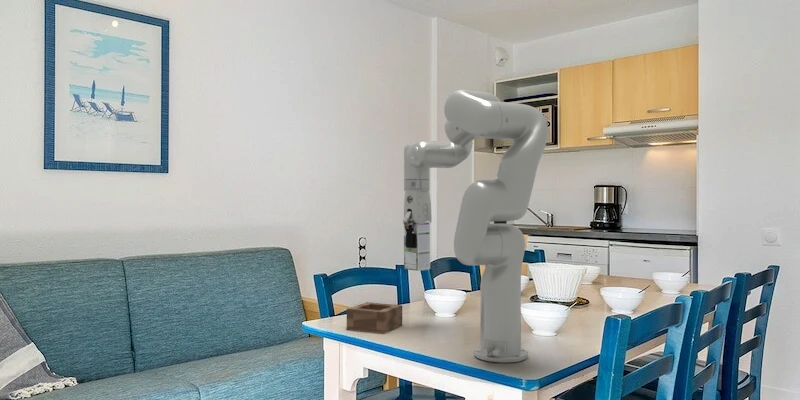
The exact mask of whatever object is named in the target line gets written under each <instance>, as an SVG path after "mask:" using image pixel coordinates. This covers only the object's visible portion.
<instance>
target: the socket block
mask: <svg viewBox="0 0 800 400" xmlns="http://www.w3.org/2000/svg"><path fill="white" fill-rule="evenodd" d="M402 326H403V305H401V304H393V303H381V302H380V303H378V302H368V301H366V302H363V303H361V304H357V305H354V306H351V307H348V308H346V330H347V331H354V332H356V331H357V332H366V333H371V334H383V335H385V334H386V333H389V332H391V331H393V330H395V328H396V329H398V328H400V327H402Z"/></svg>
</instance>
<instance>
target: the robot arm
mask: <svg viewBox="0 0 800 400" xmlns="http://www.w3.org/2000/svg"><path fill="white" fill-rule="evenodd" d="M446 98H447V99H446V101H445V102H444V106H443V107H444V109H443V111H444V113H443V114H444V116H445V118H446V121H445V124H444V132H445V135H446V137H447V138H448V140H449V141H440V140H438V141H436V140H420V141H416V142H415V143H409V144H406V145H405V146H404V148H403V189H404V190H403V191H404V200H403V220H402V224H403V229H404V228H405V233H406V247H407V248H416V247H417V234H415V232H416V223H417V224H418V225H423V224H425V222H426V220H428V221H430V224H431V223H432V203H431V193H430V191H431V190H430V186H431V185H430V184H431V183H430V181H431V180H430V171H431V169H433V168H435V169H437V168H438V169H451V168H452V169H453V168H454V167H457V166H458V165H460V164H461V163H463V162H464V161H465V160H466V159H468V158H469V156H470V155H471V151H472V148H473V144H474V143H473V141H474V140H475V139H476V138H477V137H478V138H482V139H488V140H489V139H491V140H493V139H494V140H507V141H509V140H510V141H512V142H513V143H512V144H510V146H509V147H508V149H506V151H505V152H504V154H503V155H502V157H501V159H500V161H499V164H498V165H499V167H498V170H497V175H496V176H495V178H494V179H481V180H476V181H473V182H472V183H471V184H469V185H468V187H466V189H465V191H464V193H463V196H462V198H461V204H460V209H459V213H458V218H457V223H456V227H455V232H454V239H453V250H454V251H453V252H454V255H455V257H456V259H457V260H458V261H459V262H460V264H462V265H464V266H465V265H466V266H485V265H487V266H486V268H484V269H483V273H482V275H481V278H480V291H479V292H480V295H479V296H480V303H479V304H480V310H479V312H480V315H479V316H480V319H479V320H480V322H479V323H480V342H479V343H480V346H478V347H475V348H474V349H473V355H474V357H475V358H477V359H479V360H482V361H484V362H485V361H487V362H490V363H491V362H492V363H502V364H503V363H506V364H507V363H517V362H518V363H519V362H523V361H525V360H526V359H528V351H527V350H526V349H523V348H522V340H521V339H522V336H521V335H522V334H521V333H522V323H521V322H522V317H521V316H522V314H521V313H522V311H521V310H522V307H521V306H522V304H521V303H522V300H521V299H522V296H521V294H522V291H521V289H522V267H523V263H524V262H523V260H524V256H525V252H526V251H525V250H526V238H525V235H524V233H523V232H522V230H521V229H520V228H518V227H517V226H515V225H512V224H511V223H507V224H494V223H493V222H494V221H507V222H513V221H518V220H521V219H522V218H523V217H525V216H526V213H527V210H528V207H529V204H530V201H531V196H532V191H533V189H534V185H535V184H534V183H535V180H536V177H537V175H536V174H537V170H538V166H539V164H540V161H541V159H542V156H543V153H544V151H545V149H546V145H547V142H548V137H549V136H548V135H549V129H548V123H547V120H546V118H545V115H544V114H543V113H542V112H541V111H540V110H539V109H538V108H536V107H534V106H531V105H529V104H524V103H517V102H509V101H508V102H505V101H501V99H500V98H499V97H497V96H496V95H495V94H492V93H490V92H485V91H481V90H480V91H479V90H477V91H476V90H470V89H458V90H456V91H453V92H452V93H450V95H448V97H446ZM430 168H431V169H430ZM410 222H414V223H410ZM491 222H492V223H491ZM412 226H413V228H412Z"/></svg>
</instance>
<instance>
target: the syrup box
mask: <svg viewBox="0 0 800 400" xmlns="http://www.w3.org/2000/svg"><path fill="white" fill-rule="evenodd" d="M410 223H414V222H410ZM412 228H413V226H412ZM415 234H417V247H416V248H407V247H406V233H405V228H404V227H403V269H404V270H409V271H417V272H421V271H428V270H431V223H430V221H428V220H426V222H425V224H423V225H418V224H417V223H416V232H415Z"/></svg>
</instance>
